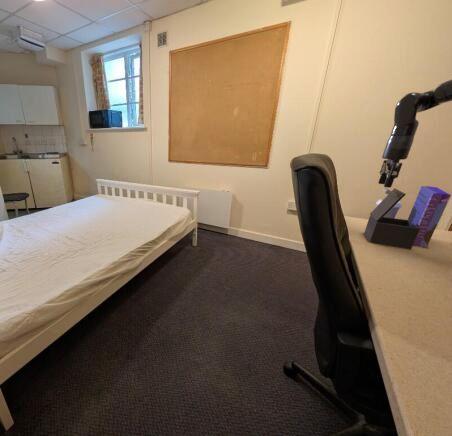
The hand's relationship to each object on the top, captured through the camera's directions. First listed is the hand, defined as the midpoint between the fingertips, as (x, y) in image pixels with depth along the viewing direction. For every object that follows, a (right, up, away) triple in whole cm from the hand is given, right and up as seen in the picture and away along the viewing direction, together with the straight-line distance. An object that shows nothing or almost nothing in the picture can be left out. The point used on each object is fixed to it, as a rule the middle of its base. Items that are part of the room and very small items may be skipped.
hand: (384, 185), depth 97 cm
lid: (+3, -9, +1) cm, 9 cm away
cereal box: (+21, -25, +7) cm, 33 cm away
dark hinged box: (+6, -25, +5) cm, 27 cm away
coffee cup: (+18, -20, +20) cm, 33 cm away
